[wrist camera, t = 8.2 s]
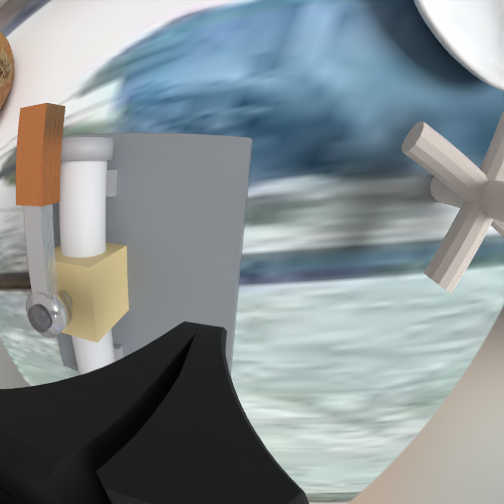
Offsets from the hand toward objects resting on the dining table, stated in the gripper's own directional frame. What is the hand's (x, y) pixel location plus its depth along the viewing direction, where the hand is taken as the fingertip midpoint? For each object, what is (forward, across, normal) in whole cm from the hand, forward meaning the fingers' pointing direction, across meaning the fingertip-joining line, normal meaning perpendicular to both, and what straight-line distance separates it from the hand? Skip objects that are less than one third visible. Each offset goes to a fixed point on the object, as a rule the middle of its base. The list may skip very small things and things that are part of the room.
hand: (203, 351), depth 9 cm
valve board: (+10, +7, +2) cm, 13 cm away
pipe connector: (+11, -12, -6) cm, 17 cm away
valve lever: (+4, +9, -2) cm, 10 cm away
